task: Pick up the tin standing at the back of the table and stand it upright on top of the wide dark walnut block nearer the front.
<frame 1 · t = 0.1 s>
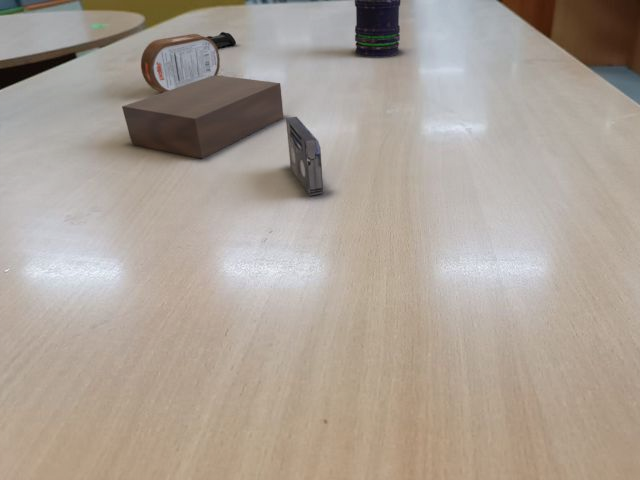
block: (212, 130, 72), on the table
mini dv tape: (306, 182, 57), on the table
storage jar: (377, 53, 114), on the table
tin: (188, 89, 91), on the table
electric trimmer: (209, 51, 119), on the table
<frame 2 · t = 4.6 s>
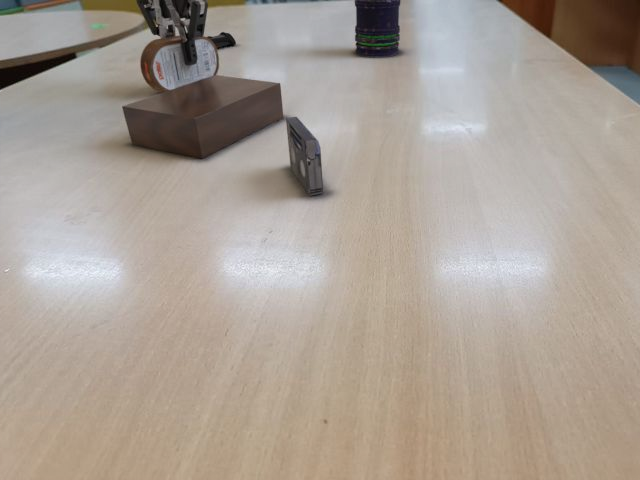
hand: (183, 63, 88), 4 cm above the table, tool pointing down, fingers closed on tin, 3 cm apart
tin: (188, 88, 91), on the table, touching gripper
everything else where it was.
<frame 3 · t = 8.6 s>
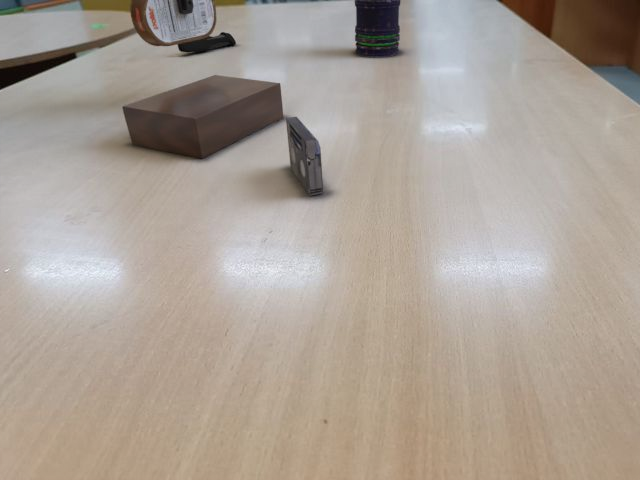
hand: (177, 12, 78), 13 cm above the table, tool pointing down, fingers closed on tin, 3 cm apart
tin: (184, 44, 80), point 9 cm above the table, touching gripper
everything else where it was.
when the fingers open (11 cm above the table, at t = 12.9 s): tin stays where it is, resting on block.
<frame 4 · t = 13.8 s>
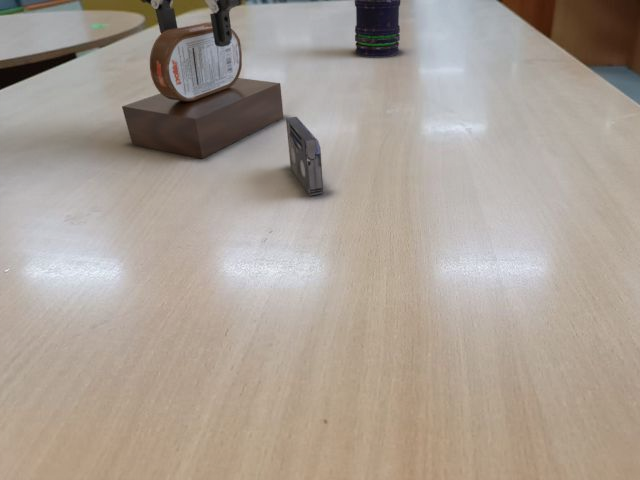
hand: (197, 42, 65), 11 cm above the table, tool pointing down, fingers open, 8 cm apart
tin: (206, 95, 69), point 5 cm above the table, touching block
everything else where it was.
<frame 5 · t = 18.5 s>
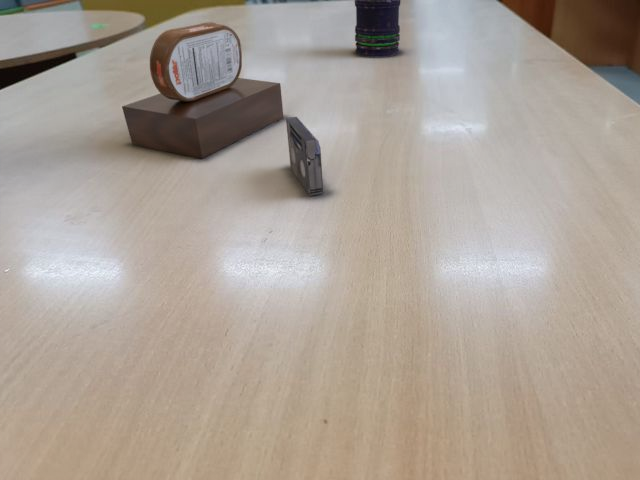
nothing on the table moved.
at the end: tin inside the target area on the block (0.2 cm from its centre), point 4.8 cm above the block's base; tin tilted 0°; tin touching block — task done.
